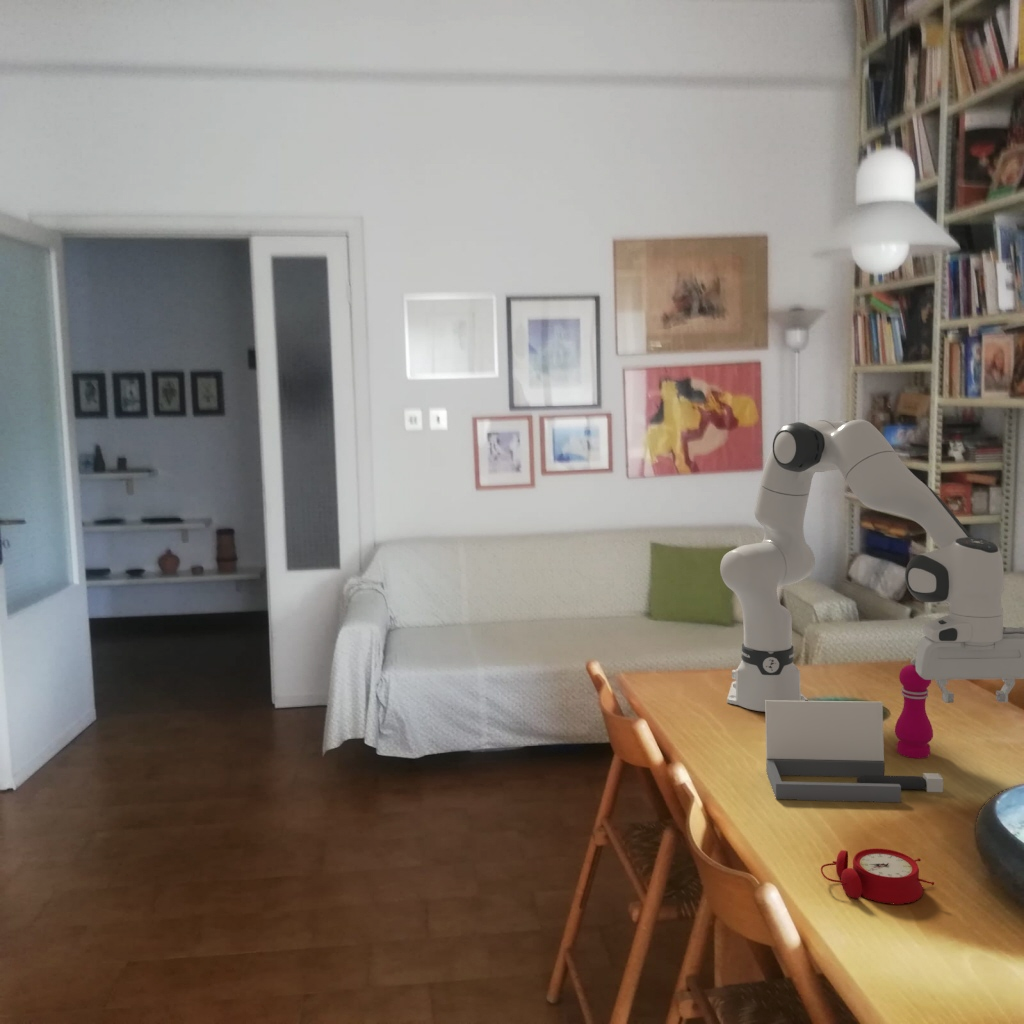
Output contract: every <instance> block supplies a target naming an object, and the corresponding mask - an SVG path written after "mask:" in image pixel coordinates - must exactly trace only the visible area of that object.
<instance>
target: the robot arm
mask: <svg viewBox="0 0 1024 1024" xmlns="http://www.w3.org/2000/svg"><path fill="white" fill-rule="evenodd" d="M772 440H773V441H772V447H771V449H770V451H769V454H768V455H767V459H766V461H765V464H764V467H763V469H762V474H761V478H760V482H759V486H758V493H757V496H756V501H755V502H756V503H755V506H754V513H753V514H754V516H755V519H756V521H757V522H758V523H759V524H760V525H762V527H763V531H764V533H763V535H764V536H763V540H762V541H761V542H756V543H750V544H745V545H744V544H743V545H740V546H737V547H736V548H734V549H732V550H730V551H728V552H727V553H725V554H724V555H723V557H722V558H721V561H720V565H719V566H720V568H719V572H720V577H721V579H722V581H723V583H724V585H726V587H727V588H728V589H730V590H731V591H732V592H733V593H734V594H735V596H736V597H737V600H738V602H739V605H740V608H741V613H742V622H743V624H742V625H743V643H742V644H741V648H740V653H741V661H740V662H739V664H738V666H737V668H736V669H731V679H732V680H733V681H731V684H730V688H729V692H728V694H727V698H726V702H727V704H730V705H735V706H739V707H742V708H745V709H747V710H752V711H757V712H764V713H765V700H776V701H805V700H808V698H807V697H805V696H804V694H802V693H801V691H802V690H801V689H802V688H801V672H800V671H801V670H800V669H799V668H798V667H797V665H796V664H794V659H795V658H794V656H795V650H794V649H795V648H794V646H793V645H792V643H793V641H792V640H793V639H792V638H793V634H792V633H793V631H792V630H793V621H792V620H793V616H792V614H791V612H790V610H789V609H788V608H786V607H785V606H784V605H782V604H781V603H780V600H779V597H778V592H777V590H778V588H779V587H780V588H781V587H785V586H790V585H795V584H797V583H799V582H801V581H802V580H805V579H807V578H809V577H810V576H811V575H812V574H813V572H814V569H815V564H816V557H815V554H814V552H813V549H812V548H811V546H810V545H809V544H807V542H806V539H805V538H806V537H805V533H804V520H805V515H806V509H807V504H808V501H809V500H808V499H809V496H810V490H811V487H812V479H813V477H814V475H815V473H823V472H824V473H825V472H828V471H836V470H839V471H840V473H841V474H842V476H843V479H844V480H845V482H846V484H847V485H848V487H849V489H850V490H851V493H852V494H853V495H854V496H855V497H856V499H858V500H859V502H860V503H861V504H862V505H864V506H865V507H867V508H869V509H872V510H874V511H878V512H883V513H889V514H893V515H897V516H901V517H904V518H907V519H908V520H912V521H913V522H916V523H917V524H918V525H919V526H921V527H922V528H923V529H924V531H925V532H926V533H927V534H928V535H929V537H930V538H931V539H932V541H933V542H934V543H935V545H937V547H938V548H939V549H936V550H933V551H932V550H931V551H928V552H923V553H920V554H917V555H916V554H915V555H914V556H912V557H911V559H910V560H909V562H907V565H906V568H905V573H904V579H905V581H904V582H905V584H906V587H907V590H908V591H909V593H910V594H911V595H912V596H913V598H915V599H916V600H918V601H919V602H922V603H929V604H935V603H936V604H937V603H945V604H948V607H949V609H948V610H949V611H948V613H949V614H948V615H945V616H941V617H939V618H936V619H933V620H930V621H927V622H924V623H923V624H921V633H922V634H923V636H922V637H921V638H920V639H919V640H918V643H917V647H916V655H915V658H916V664H915V668H916V672H917V673H918V674H919V676H921V677H922V678H923V679H925V680H931V681H933V680H935V683H936V685H937V686H938V688H939V689H940V691H941V694H942V697H941V699H942V701H943V703H945V704H950V703H952V704H953V703H954V702H955V700H954V697H955V695H954V693H953V692H952V691H950V690H948V689H947V687H946V686H947V685H948V680H949V681H950V680H1001V681H1002V682H1004V683H1003V685H1002V687H1001V689H1000V690H995V695H996V696H995V700H996V701H997V702H998V703H1008V702H1009V694H1010V692H1011V691H1012V690H1013V688H1014V687H1015V686H1016V680H1023V679H1024V626H1019V627H1011V626H1010V627H1009V626H1008V627H1004V610H1003V605H1002V596H1003V593H1004V590H1005V589H1004V587H1005V586H1004V584H1005V581H1004V580H1005V579H1004V578H1005V577H1004V575H1005V574H1004V562H1003V556H1002V552H1001V550H1000V548H999V546H998V545H997V544H996V543H994V542H993V541H991V540H989V539H986V538H985V539H984V538H979V537H973V536H972V535H971V533H970V532H969V531H968V530H967V529H966V527H964V525H963V524H962V523H961V521H960V520H959V519H958V518H957V517H956V515H955V514H954V513H953V511H952V510H951V509H950V508H949V507H948V506H947V504H946V503H945V502H944V501H943V500H942V498H941V497H940V496H939V494H937V493H936V492H935V491H934V489H932V488H931V487H930V486H928V485H927V484H926V483H925V482H923V481H921V479H919V478H918V477H917V476H916V475H915V474H914V473H913V472H912V471H911V470H910V469H909V468H908V467H907V466H906V465H905V463H904V462H903V461H902V460H901V458H900V457H899V456H898V453H897V452H896V451H895V449H894V448H893V446H892V445H891V444H890V442H889V441H888V440H887V438H886V437H885V436H884V435H883V434H882V433H881V432H880V430H878V429H877V427H876V426H875V425H873V424H872V423H871V422H870V421H868V420H865V419H853V420H850V421H849V420H830V419H829V420H827V419H824V420H823V419H822V420H821V419H820V420H815V421H807V422H805V421H804V422H799V421H796V422H792V423H788V424H786V425H784V426H782V427H780V428H779V429H778V431H777V432H776V433H775V435H774V438H773V439H772ZM808 701H809V700H808Z"/></svg>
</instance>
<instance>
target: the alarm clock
mask: <svg viewBox="0 0 1024 1024" xmlns="http://www.w3.org/2000/svg"><path fill="white" fill-rule="evenodd" d="M921 861H922V860H921V858H919V857H918V858H916V859H913V858H912V857H910V856H909V855H907V854H905V853H903V852H899V851H896V850H892V849H888V848H868V849H867V848H866V849H862V850H860V851H858V852H857V853H856V854H855V855H854V857H853V860H852V868H851V867H849V851H848V850H845V849H844V850H840V851H839V852H838V854H837V857H836V860H835V861H834V860H833V861H832V863H825V864H823V865H821V867H820V872H821V875H822V876H823V878H824V879H826V880H828V881H831V882H834V883H841V887H842V889H843V891H844V893H845V894H846V895H847V896H848V895H849V896H850V897H849V896H848V897H849V898H851V897H852V899H856V898H857V899H860V898H861V897H862V898H865V897H866V898H865V899H867V898H868V900H870V899H871V900H870V901H872V900H874V901H873V902H876V901H878V902H877V903H880V902H884V903H883V904H885V903H892V904H891V905H905V904H904V903H908V904H910V902H912V903H914V902H916V900H917V901H918V900H919V899H920V897H922V896H923V892H924V891H923V890H924V889H923V888H924V886H923V885H922V883H926V884H930V885H931V886H934V885H935V882H934V881H928V880H926V879H923V878H919V876H920V875H919V874H920V868H919V865H918V863H917V862H921ZM829 866H835V869H836V874H837V876H838V878H840V880H839V879H838V880H837V879H832V878H829V877H827V876H826V875H825V873H824V872H823V868H825V867H829ZM921 882H922V883H921ZM922 886H923V887H922ZM861 895H862V896H861ZM913 901H914V902H913ZM893 903H894V904H893Z"/></svg>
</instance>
